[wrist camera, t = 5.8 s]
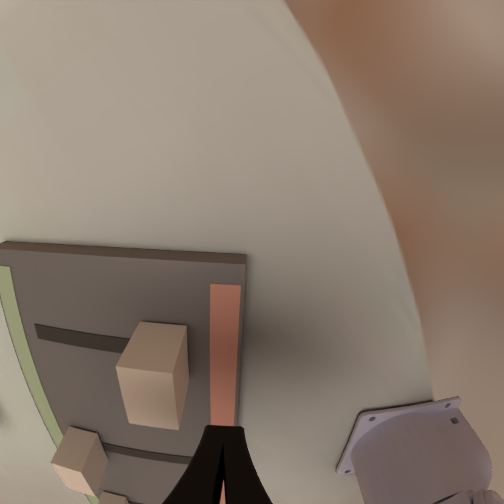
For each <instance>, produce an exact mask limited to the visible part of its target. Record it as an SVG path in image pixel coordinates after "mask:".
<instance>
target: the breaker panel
mask: <svg viewBox="0 0 504 504" xmlns="http://www.w3.org/2000/svg"><path fill="white" fill-rule="evenodd" d="M245 279H246V254H228V253H209V252H190V251H171V250H153V249H134V248H116V247H98V246H80V245H62V244H44V243H27V242H9V241H5V242H3V243H0V299H1V303H2V308H3V311H4V315H5V319H6V323H7V326H8V330H9V333H10V337H11V340H12V343H13V346H14V349H15V352H16V355H17V358H18V361H19V364H20V367H21V370H22V372H23V375H24V378H25V380H26V383H27V385H28V388H29V390H30V393H31V395H32V397H33V400H34V402H35V404H36V407H37V409H38V411H39V413H40V415H41V418H42V420H43V422H44V424H45V426H46V428H47V430H48V432H49V434H50V436H51V438H52V440H53V442H54V444H55V446H56V447H57V449H58V447H59V445H60V443H61V441H62V439H63V437H64V435H65V433H66V431H67V429H68V427H69V426H70V427H73V428H77V429H81V430H85V431H89V432H93V433H97V434H98V436H99V439H100V442H101V444H102V446H103V449H104V451H105V454H106V456H107V458H108V463H107V466H106V469H105V472H104V474H103V477H102V480H101V483H100V486H99V489H98V492H97V495H96V497H95V496H91V495H88V494H85V495H86V497H87V498H88V500H89V501H90V503H91V504H98V503H99V499H100V496H101V493H102V491H103V492H107V493H111V494H115V495H119V496H123V497H126V498H127V500H128V502H129V504H162V503H163V502H164V500H165V499H166V498H167V497H168V495H169V494H170V493H171V491H172V490H173V489H174V487H175V486H176V484H177V483H178V481H179V480H180V478H181V477H182V475H183V473H184V472H185V470H186V468H187V467H188V465H189V463H190V461H191V459H192V457H193V456H194V454H195V452H196V449H197V447H198V445H199V443H200V440H201V438H202V435H203V432H204V428H205V426H207V425H220V426H237V417H238V399H239V382H240V364H241V347H242V330H243V313H244V296H245ZM140 321H141V322H151V323H161V324H173V325H185V326H187V346H188V367H189V383H188V388H187V393H186V398H185V403H184V408H183V413H182V418H181V423H180V428H179V430H173V429H164V428H157V427H150V426H144V425H137V424H131V423H129V421H128V417H127V414H126V410H125V406H124V402H123V398H122V393H121V389H120V385H119V380H118V375H117V371H116V364H117V363H118V361H119V359H120V357H121V355H122V353H123V351H124V350H125V348H126V346H127V344H128V342H129V340H130V339H131V337H132V335H133V333H134V331H135V330H136V328H137V326H138V324H139V322H140ZM220 504H225V491H224V480H223V487H222V493H221V500H220Z"/></svg>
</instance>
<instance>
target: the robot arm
mask: <svg viewBox="0 0 504 504" xmlns="http://www.w3.org/2000/svg"><path fill="white" fill-rule="evenodd" d="M460 402H461V399H460V398H459V396H457V397H452V398H447V399H443V400H438V401H433V402H428V403H422V404H417V405H411V406H405V407H398V408H392V409H384V410H376V411H368V412H363V413H361V414H360V415H359V417H358V419H357V421H356V424H355V427H354V429H353V431H352V434H351V436H350V439H349V441H348V444H347V446H346V448H345V451H344V453H343V455H342V457H341V460H340V462H339V464H338V466H337V468H336V474H337V475H344V474H352V473H355V474H356V477H357V480H358V483H359V487H360V490H361V493H362V496H363V500H364V503H365V504H504V500H503V499H502V498H501V497H500V496H499V495H498V493H496V492H495V491H493V490H487V488H488V486H489V484H490V482H491V477H492V463H491V459H490V456H489V453H488V451H487V449H486V448H485V446H484V445H483V444H482V442H481V440H480V439H479V437H478V436H477V434H476V433H475V432H474V430H473V429H472V427H471V426H470V424H469V423H468V422H467V420H466V419H465V417H464V416H463V414H462V413H461V412H460V410H459V409H458V406H459V404H460ZM223 480H224V491H225V504H273V503H272V502H271V500H270V498H269V497H268V495H267V493H266V491H265V489H264V487H263V485H262V483H261V481H260V479H259V477H258V475H257V472H256V470H255V468H254V465H253V463H252V460H251V457H250V454H249V451H248V448H247V444H246V439H245V434H244V428H243V427H241V426H220V425H207V426H205V428H204V432H203V435H202V438H201V440H200V443H199V445H198V447H197V449H196V452H195V454H194V456H193V457H192V459H191V461H190V463H189V465H188V467H187V468H186V470H185V472H184V473H183V475H182V477H181V478H180V480H179V481H178V483H177V484H176V486H175V487H174V489H173V490H172V491H171V493H170V494H169V495H168V497H167V498H166V499H165V500H164V502H163V503H162V504H220V500H221V493H222V487H223Z"/></svg>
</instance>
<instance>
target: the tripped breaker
mask: <svg viewBox="0 0 504 504" xmlns="http://www.w3.org/2000/svg"><path fill="white" fill-rule="evenodd" d="M116 371H117V375H118V380H119V385H120V389H121V393H122V398H123V402H124V406H125V410H126V414H127V417H128V421H129V423H131V424H137V425H144V426H150V427H157V428H164V429H173V430H179V428H180V423H181V418H182V413H183V408H184V403H185V398H186V393H187V388H188V383H189V367H188V346H187V326H185V325H173V324H161V323H151V322H141V321H140V322H139V324H138V326H137V328H136V330H135V331H134V333H133V335H132V337H131V339H130V340H129V342H128V344H127V346H126V348H125V350H124V351H123V353H122V355H121V357H120V359H119V361H118V363H117V364H116Z"/></svg>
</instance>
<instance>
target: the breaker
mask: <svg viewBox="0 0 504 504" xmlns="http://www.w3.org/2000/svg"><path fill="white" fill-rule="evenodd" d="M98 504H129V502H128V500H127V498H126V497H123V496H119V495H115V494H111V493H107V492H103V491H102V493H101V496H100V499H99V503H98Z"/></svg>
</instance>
